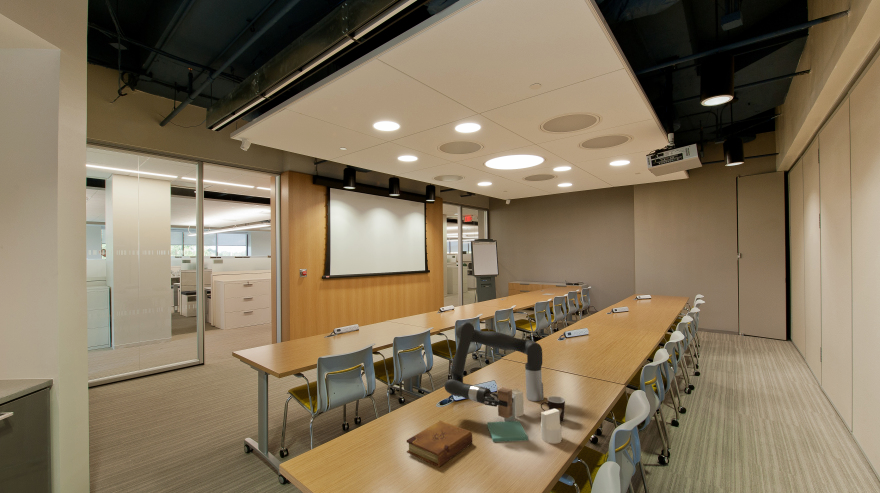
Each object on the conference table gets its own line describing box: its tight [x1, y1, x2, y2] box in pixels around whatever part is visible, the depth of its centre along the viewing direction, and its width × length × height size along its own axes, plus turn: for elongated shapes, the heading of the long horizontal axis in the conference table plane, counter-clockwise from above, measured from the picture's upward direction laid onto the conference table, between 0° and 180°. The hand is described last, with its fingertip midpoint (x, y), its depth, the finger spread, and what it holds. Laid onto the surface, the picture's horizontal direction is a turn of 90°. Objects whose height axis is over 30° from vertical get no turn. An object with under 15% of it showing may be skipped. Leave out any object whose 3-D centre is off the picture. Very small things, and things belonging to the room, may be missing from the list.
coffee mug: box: [540, 395, 566, 423], centre depth 179 cm, size 12×9×10 cm
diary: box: [406, 420, 473, 468], centre depth 154 cm, size 23×19×6 cm
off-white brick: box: [512, 388, 525, 418], centre depth 185 cm, size 5×5×12 cm
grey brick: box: [503, 395, 516, 422], centre depth 179 cm, size 5×5×12 cm
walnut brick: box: [497, 387, 513, 419], centre depth 166 cm, size 5×5×12 cm
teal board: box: [486, 420, 529, 443], centre depth 166 cm, size 16×16×2 cm
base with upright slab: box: [540, 408, 563, 444], centre depth 159 cm, size 9×9×12 cm
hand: (510, 402), depth 165 cm, fingers closed on walnut brick, 5 cm apart
